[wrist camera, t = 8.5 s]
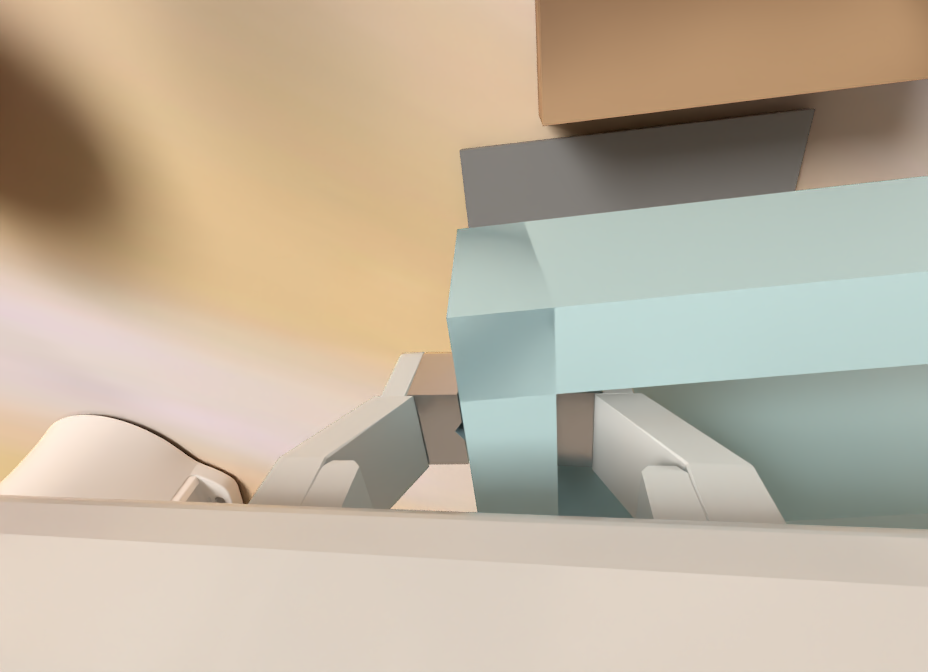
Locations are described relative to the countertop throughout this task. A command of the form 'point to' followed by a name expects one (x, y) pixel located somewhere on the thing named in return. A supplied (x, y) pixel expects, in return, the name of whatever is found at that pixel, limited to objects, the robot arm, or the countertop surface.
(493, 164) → the mat
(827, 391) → the c link
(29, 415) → the countertop surface
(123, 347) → the countertop surface
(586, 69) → the stand
